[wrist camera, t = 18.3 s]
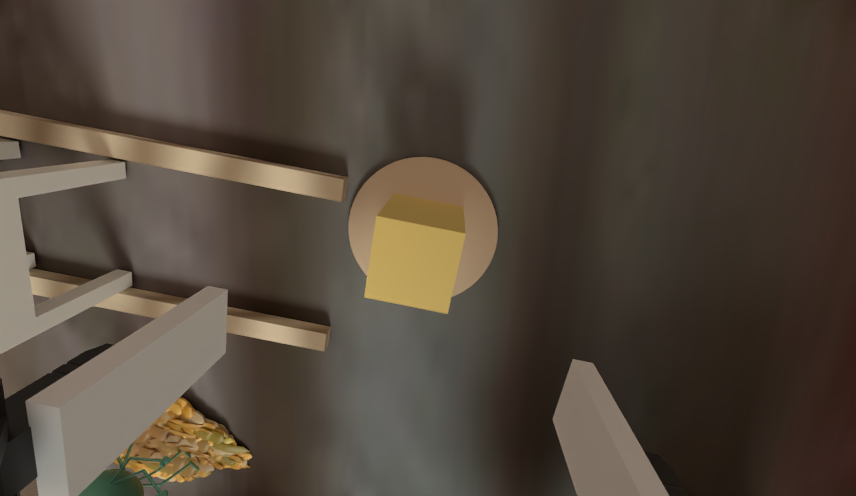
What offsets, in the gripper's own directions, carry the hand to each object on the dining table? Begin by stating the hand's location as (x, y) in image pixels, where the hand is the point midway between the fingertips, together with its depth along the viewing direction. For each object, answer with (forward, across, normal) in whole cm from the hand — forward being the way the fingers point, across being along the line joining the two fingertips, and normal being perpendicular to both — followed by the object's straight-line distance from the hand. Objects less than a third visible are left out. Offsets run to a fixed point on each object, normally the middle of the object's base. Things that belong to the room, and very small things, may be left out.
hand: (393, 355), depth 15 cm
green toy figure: (+16, +21, +23) cm, 35 cm away
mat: (+16, 0, -1) cm, 16 cm away
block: (+15, 0, -1) cm, 15 cm away
